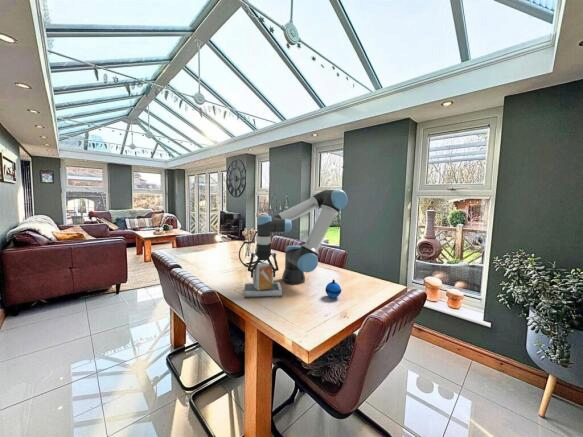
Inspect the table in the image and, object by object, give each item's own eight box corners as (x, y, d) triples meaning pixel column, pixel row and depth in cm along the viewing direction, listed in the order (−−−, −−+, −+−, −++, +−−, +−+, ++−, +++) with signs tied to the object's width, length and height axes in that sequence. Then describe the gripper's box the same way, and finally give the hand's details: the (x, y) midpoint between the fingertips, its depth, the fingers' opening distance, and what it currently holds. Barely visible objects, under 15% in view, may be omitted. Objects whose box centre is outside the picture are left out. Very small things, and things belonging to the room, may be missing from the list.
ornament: (322, 295, 139) (323, 277, 138) (335, 293, 142) (336, 276, 141) (330, 301, 131) (331, 283, 130) (344, 299, 134) (344, 281, 133)
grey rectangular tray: (279, 288, 147) (279, 281, 147) (281, 297, 134) (282, 289, 134) (244, 289, 144) (244, 282, 143) (244, 298, 131) (244, 291, 131)
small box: (258, 290, 134) (259, 267, 133) (253, 287, 139) (254, 264, 138) (271, 288, 138) (272, 265, 137) (266, 284, 144) (267, 262, 142)
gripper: (283, 242, 142) (281, 280, 144) (243, 242, 138) (242, 281, 140) (284, 244, 135) (283, 284, 137) (243, 244, 131) (242, 286, 133)
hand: (262, 283), depth 138 cm, fingers closed on small box, 10 cm apart
